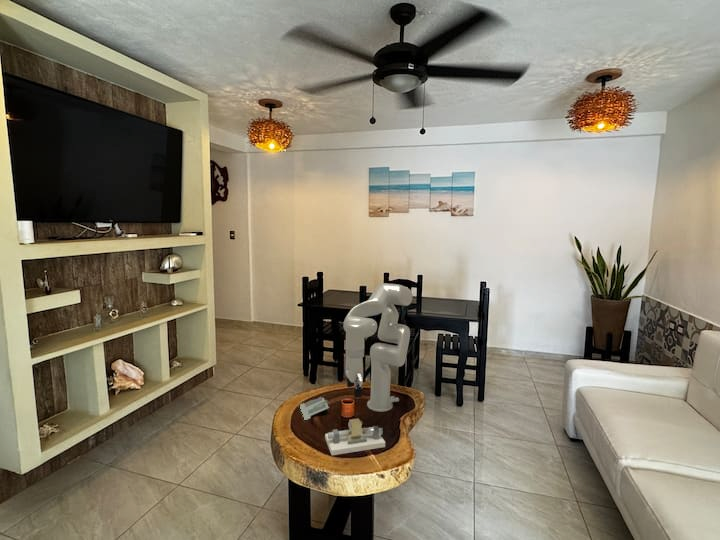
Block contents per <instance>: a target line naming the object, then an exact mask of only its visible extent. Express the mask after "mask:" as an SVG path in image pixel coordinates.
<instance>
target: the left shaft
mask: <svg viewBox="0 0 720 540" xmlns="http://www.w3.org/2000/svg"><path fill="white" fill-rule="evenodd" d="M372 427H373V428H370V427H361V429H362V434H373V437H374V439H379V434H380V435H383V434H384V433H383V432H384V431H383V427H379V425H373V426H372Z"/></svg>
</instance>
